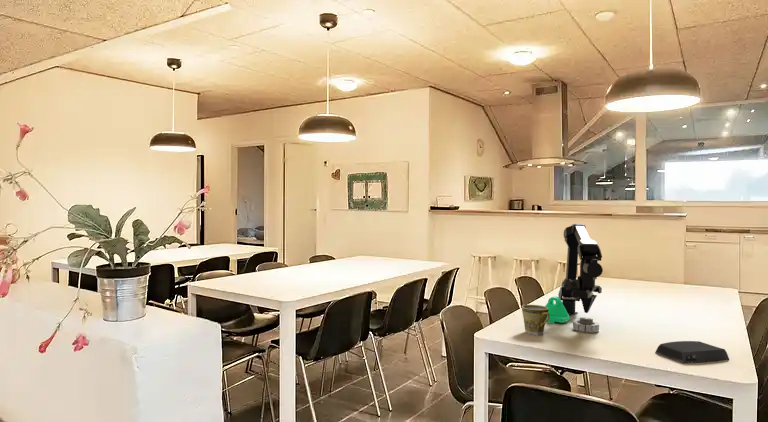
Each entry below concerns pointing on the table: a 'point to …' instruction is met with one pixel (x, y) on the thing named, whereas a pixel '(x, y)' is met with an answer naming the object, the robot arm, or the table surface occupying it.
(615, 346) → the table surface
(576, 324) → the grey piece
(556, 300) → the camera mount
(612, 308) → the table surface
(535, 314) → the ceramic cup
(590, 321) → the cap
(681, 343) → the external hard drive
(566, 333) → the table surface
